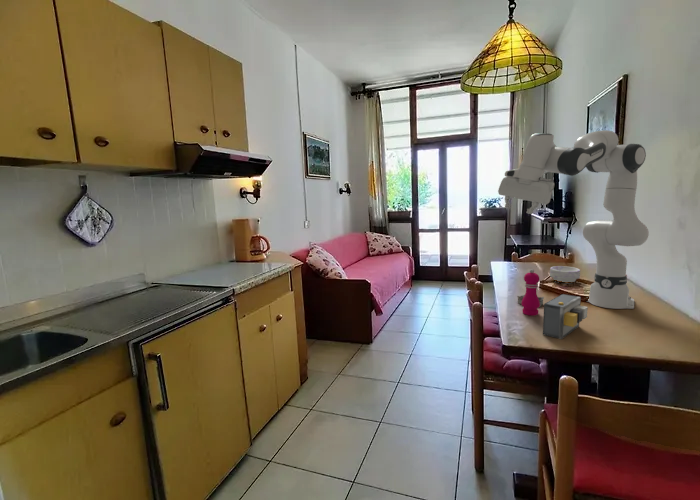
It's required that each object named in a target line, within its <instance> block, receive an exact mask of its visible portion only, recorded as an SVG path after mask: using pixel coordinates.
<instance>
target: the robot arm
mask: <svg viewBox="0 0 700 500" xmlns="http://www.w3.org/2000/svg"><path fill="white" fill-rule="evenodd" d="M554 139H555V137H554V134H552V133H545V132H544V133H541V132H536V133H535V132H534V134H532V135H531V136H529V138H528V140H527V143H526V146H525V149H524V151H523V154H522V160H521V163H520V164H519V167H518V168H515V169H509V170H506V171H505V172H504V176H505V177H503V178H502V179H501V181H500V184H499V187H498V189H497V192H498V193H497V194H498V195H500V196H504V203H505V205H504V209H508V210H510V209H511V207H512V204H510V201H511V200H512V198H513V199H519V200H522V201H528V202H532V203H531V205H532V206H531V207H529V208H527V209H526V210H527V211H526V214H528V215H532V214H533V213H534V210H536V208H538V207H539V204H542V205H548V204H549V203H550V202H551V199H552V194H553V190H554V188H555V181H553V179H551V178H546V177H543V176H544V173H545V172H547V173H552V174H553V173H554V174H562V175H566V176H571V177H573V176H576V175H579V173H581V172H582V171H583V170H584V169H585V168H586V169H587V170H588V171H589V172H591V173H597V174H598V173H609V174H608V177H607V181H606V185H605V191H604V197H603V207H604V209H605V210H607V211H608V212H610V213H611V214H612V216H613V220H610V219H609V220H608V219H607V220H606V219H598V220H590V221H588V222H586V223H585V224H584V226H583V228H582V235H583V238H584V239H585V241H586V242H588V243H589V245H591V247H592V249H593V250H594V254H595V257H596V266H595V267H596V269H595V270H596V271H595V274H594V277H593V278H594V282H592V283H591V284H590V287H589V295H588V297H589V299H588V301H587V303H590V304H591V305H593V306H597V307H601V308H606V309H614V310H615V309H618V310H619V309H621V310H622V309H624V310H625V309H633V310H634V309H635V299H634V298H632V296H630V288H629V286H628V275H627V266H628V260H627V258H626V256H625V255H623V254H622V253H620V252H619V251H618V249H617V248H616V246H621V247H637V246H641V245H643V244H645V243H646V241H647V240H648V238H649V235H650V234H649V229H648V227H647V226H646V224H644V223H643V222H642V221H641V220H640V219H639V217H638V216H637V214H636V210H635V205H636V204H635V201H636V194H637V189H638V188H637V187H638V169H640V167H642V165H643V164H644V163H645V160H646V156H647V153H646V148H644V146H643V145H642V144H639V143H629V144H619V137H618V134H617V133H615V132H614V131H612V130H606V129H605V130H604V129H603V130H595V131H592V132H588V133H585V134H582V135H581V136H579V137H578V138H577V139H576V140H575V142H574V145H573V147H568V146H567V147H565V146H557V145H556V144H555V143H554Z"/></svg>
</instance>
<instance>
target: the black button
mask: <svg viewBox="0 0 700 500" xmlns="http://www.w3.org/2000/svg"><path fill="white" fill-rule="evenodd" d="M570 313H575V314H577V323H579V324H580V323H581V322H582V321H583V319H582V314H583V310H578V309H573V308H572V309H571V310H570Z"/></svg>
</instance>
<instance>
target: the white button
mask: <svg viewBox="0 0 700 500" xmlns="http://www.w3.org/2000/svg"><path fill="white" fill-rule="evenodd" d="M588 308H589V307H588V306H584V305H580V306H579V305H577V306H576V307H575V309H578V310H583V314H582V320H585V319H586V318H588Z"/></svg>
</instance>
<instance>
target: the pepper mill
mask: <svg viewBox="0 0 700 500" xmlns="http://www.w3.org/2000/svg"><path fill="white" fill-rule="evenodd" d="M523 280H524V282H525V283H524V284H525V285H524V287H525V289H526V290H525V294H524V295H525V296H524V297H523V299H522V304H521V306H522V314H524V315H527V316H533V317H535V316H538V315H539V307H540V302H539V299H538V297H539V296H538V295H537V288H538V287H539V284H538V283H539V282H540V276H539V274H537V273H536V272H535V269H533V268H531V269H529V272H527V273H525V275H524V276H523Z"/></svg>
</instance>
